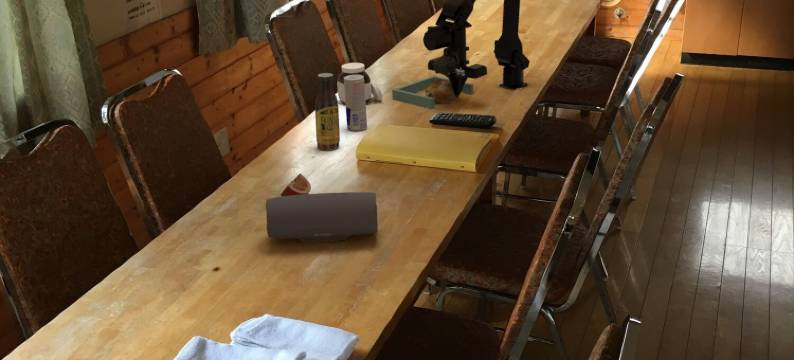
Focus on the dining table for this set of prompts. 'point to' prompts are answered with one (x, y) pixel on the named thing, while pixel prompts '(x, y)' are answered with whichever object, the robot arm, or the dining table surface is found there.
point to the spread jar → (370, 85)
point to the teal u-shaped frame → (409, 90)
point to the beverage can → (355, 102)
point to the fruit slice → (297, 187)
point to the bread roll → (441, 92)
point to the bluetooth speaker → (322, 216)
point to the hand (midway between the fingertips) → (457, 95)
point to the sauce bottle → (327, 114)
